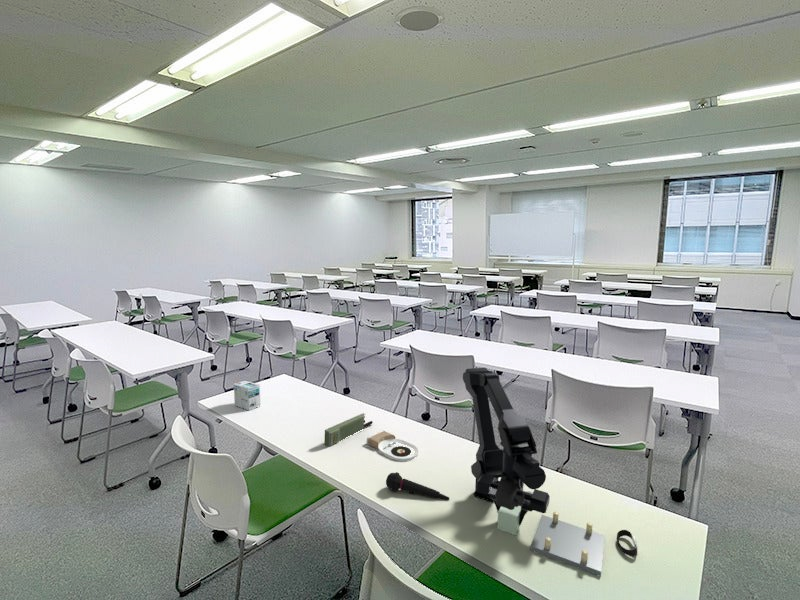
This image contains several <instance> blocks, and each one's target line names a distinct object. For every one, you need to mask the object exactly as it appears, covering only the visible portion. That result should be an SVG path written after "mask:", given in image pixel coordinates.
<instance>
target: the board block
mask: <svg viewBox="0 0 800 600" xmlns="http://www.w3.org/2000/svg"><path fill="white" fill-rule="evenodd" d="M520 513H521V506H518V507H515V508H514V509H513V510H509V509H507V508H505V507H502V506H501V507H500V509H499V511H498V512H497V529H498V530H500V531H503V532H505V533H509V534H510V535H513V536H517V534H518V532H519V529H520V527H521V525H519V518H520Z"/></svg>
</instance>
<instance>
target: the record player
mask: <svg viewBox="0 0 800 600" xmlns="http://www.w3.org/2000/svg"><path fill="white" fill-rule="evenodd" d="M391 442H393V443H392V444H390V443H391ZM396 442H398V443H401V444H404V445H407V446H409V447H411V448H413V449H414V451H415V453H414V454H411V455H410V453H411V450H410V448H408V447H406V446H405V447H403V445H402V446H399V445H396V446H394V444H396ZM366 445H368V446H370V445H371V446H370V447H372V448H374V447H375V448H374V449H376V450H377V451H378V450H379V451H378V452H379V453H380V454H381V453H382V454H381V455H383V454H384V455H383V456H385V455H386V456H385V457H387V458H389V459H390V460H391V459H392V460H393V459H394V460H393V461H396V460H397V461H396V462H408V461H407V460H409V461H412V459H413V460H415V459H416V458H417V457H418V456H419V448H418V447H417V445H414V444H412V443H410V442H408V441H406V440H404V439H400V438H396V436H395V434H392V433H390V432H388V431H386V430H383V429H382V430H379V431H377V432H376V433H372V434H371V435H369V436H367V438H366ZM397 446H398V447H397ZM408 455H409V457H407V456H408ZM415 457H416V458H415ZM414 458H415V459H414Z"/></svg>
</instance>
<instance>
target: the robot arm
mask: <svg viewBox="0 0 800 600" xmlns="http://www.w3.org/2000/svg"><path fill="white" fill-rule="evenodd" d="M462 381H463V383H464V385H465V389H466V391H467V392H468V394H469V395H470V396H471V398H472V403H473V410H474V415H475V416H474V417H475V423H476V428H477V429H476V430H477V437H478V442H479V445H478V449H477V451H476V454H475V462H474V463H473V464H471V466H470V471H471V474H472V475H473V477H475V484H474V485H475V486H474V487H475V488H474V492H473V494H472V496H473V497H476V498H479V499H482V500H484V501H488V502H491V503H494V505H495V508H496V512H497V513H498V511H499V509H500V507H501V506H502V507H505V508H507V509H509V510H513V509H514V508H515V507H518V506H521V513H520V518H519V525H520V526H521V525H522V522H523V521H524V518H525V517H526V514H527V513H528V512H533V511H535V512H537V513H541V514H546V513H547V510H548V507H549V505H550V498H551V497H550V495H549V492H546V491H543V490H539V488H541V487H542V486H543V485H544V483H545V482H546V479H547V475H546V472H545V470H544V469H543V468H542V467H541V466H540V461H538V460H537V459H535V458H534V457H533V455H536V454H538V451H537V443H536V441H535V438H534V436H533V433H532V430H531V428H530V426H529V425H528V423H527V421H526V420H525V418H524V417H523V416H521V415H520V414H518V413H517V412H516V411H515V409H514V407H513V405H512V404H511V401H510V399H509V397H508V395H507V393H506V391H505V389H504V387H503V385H502V383H501V382H500V381H501V380H500V376H499V374H498V373H497V372H495V371H493V370H489V369H488V368H486V367H475V368H474V367H473V368H466V369H465V371H464V372H463V373H462ZM490 404H491V406H492V408H493V411H494V413H495V415H496V416H497V417H496V418H497V420H498V425H497V431H498V434H499V438H500V440H501V441H500V446H502V448H500V447H499V446H498V445H497V443H496V437H495V431H494V426H493V417H492V414H491V406H490ZM520 445H527V446H520ZM499 478H500V480H499ZM524 485H525V487H527V488H528V489H530V490H533V491H529V490H527V491H525V490H524Z"/></svg>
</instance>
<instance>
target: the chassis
mask: <svg viewBox="0 0 800 600" xmlns="http://www.w3.org/2000/svg"><path fill="white" fill-rule="evenodd" d="M559 516H560V514H559V513H558V512H557V511H554V512H553V513H552V517H550V516H547V515H544V514H541V516H540V519H539V522H538V525H537V527H536V530H535V533H534V536H533V539H532V541H531V545H530V551H532V552H534V553H536V554H540V555H543V556H546V557H548V558H550V559H553V560H556V561H558V562H560V563H561V562H562V563H564V564H566V565H569V566H572V567H574V568H577V569H579V570H580V569H581V570H583V571H585V572H588V573H590V574H594V575H597V576H598V577H601V576H602V568H603V562H604V561H603V560H604V550H605V543H606V534H602V533H599V532H596V531H594V530H593V526H594V525H593V524H592V523H591V522H586V527H581V526H578V525H574V524H572V523H569V522H565V521H562V520H559Z"/></svg>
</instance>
